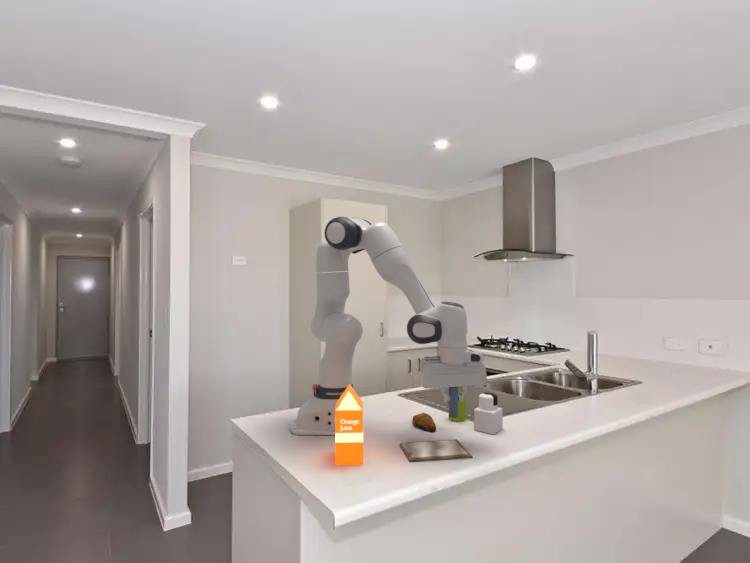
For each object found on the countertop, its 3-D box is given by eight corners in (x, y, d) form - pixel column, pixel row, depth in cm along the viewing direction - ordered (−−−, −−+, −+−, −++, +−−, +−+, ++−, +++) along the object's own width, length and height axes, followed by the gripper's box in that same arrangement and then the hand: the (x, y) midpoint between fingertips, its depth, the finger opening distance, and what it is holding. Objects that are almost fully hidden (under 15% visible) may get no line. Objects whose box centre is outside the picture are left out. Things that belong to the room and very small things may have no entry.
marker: (450, 418, 130) (450, 378, 130) (447, 414, 133) (447, 375, 133) (459, 417, 131) (459, 377, 131) (456, 414, 134) (456, 375, 134)
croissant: (405, 422, 154) (405, 408, 154) (422, 420, 157) (421, 406, 157) (425, 434, 142) (425, 419, 142) (443, 431, 144) (442, 416, 144)
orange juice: (363, 451, 127) (363, 383, 127) (363, 464, 118) (363, 390, 118) (336, 452, 126) (336, 383, 126) (334, 464, 118) (334, 390, 118)
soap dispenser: (468, 422, 153) (468, 365, 153) (448, 421, 154) (448, 364, 154) (468, 417, 158) (468, 362, 159) (449, 416, 160) (449, 362, 160)
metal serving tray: (409, 462, 119) (409, 456, 119) (399, 444, 132) (399, 439, 132) (472, 457, 122) (472, 452, 122) (456, 441, 135) (456, 436, 135)
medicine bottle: (483, 424, 150) (482, 390, 150) (502, 429, 146) (502, 393, 146) (473, 430, 145) (473, 394, 145) (493, 435, 140) (493, 397, 140)
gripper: (422, 358, 127) (423, 406, 127) (488, 355, 130) (489, 401, 130) (416, 355, 133) (417, 400, 134) (480, 352, 137) (481, 396, 137)
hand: (453, 401), depth 132 cm, fingers closed on marker, 3 cm apart
